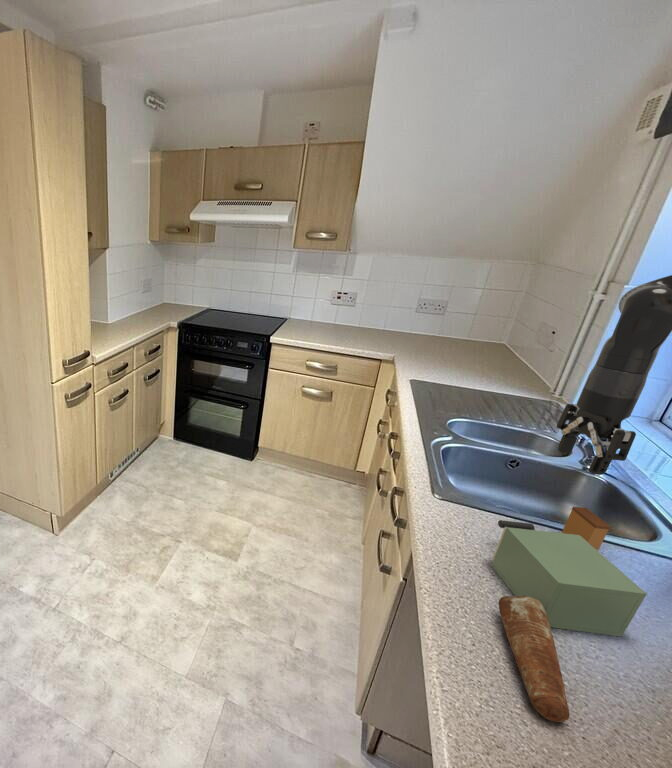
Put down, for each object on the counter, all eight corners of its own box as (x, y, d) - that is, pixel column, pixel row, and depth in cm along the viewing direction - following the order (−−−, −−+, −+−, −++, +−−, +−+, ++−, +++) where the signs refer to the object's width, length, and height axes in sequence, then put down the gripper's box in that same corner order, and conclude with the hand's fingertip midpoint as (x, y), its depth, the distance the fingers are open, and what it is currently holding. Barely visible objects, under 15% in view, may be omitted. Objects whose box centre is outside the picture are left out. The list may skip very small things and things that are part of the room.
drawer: (476, 539, 89) (487, 509, 86) (535, 545, 87) (548, 515, 85) (534, 610, 72) (550, 576, 69) (608, 620, 71) (627, 586, 68)
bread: (538, 626, 70) (550, 601, 68) (571, 735, 55) (588, 708, 53) (492, 609, 73) (502, 585, 71) (512, 708, 58) (525, 682, 56)
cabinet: (491, 565, 83) (506, 527, 80) (560, 574, 81) (579, 535, 78) (538, 625, 70) (558, 582, 67) (622, 637, 69) (647, 593, 65)
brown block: (572, 537, 91) (586, 507, 88) (595, 558, 86) (610, 526, 83) (559, 536, 92) (572, 506, 89) (581, 556, 86) (596, 525, 83)
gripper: (669, 406, 73) (629, 483, 78) (603, 379, 86) (573, 447, 92) (620, 402, 74) (584, 479, 80) (562, 376, 87) (535, 443, 93)
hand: (578, 462), depth 86 cm, fingers open, 8 cm apart
